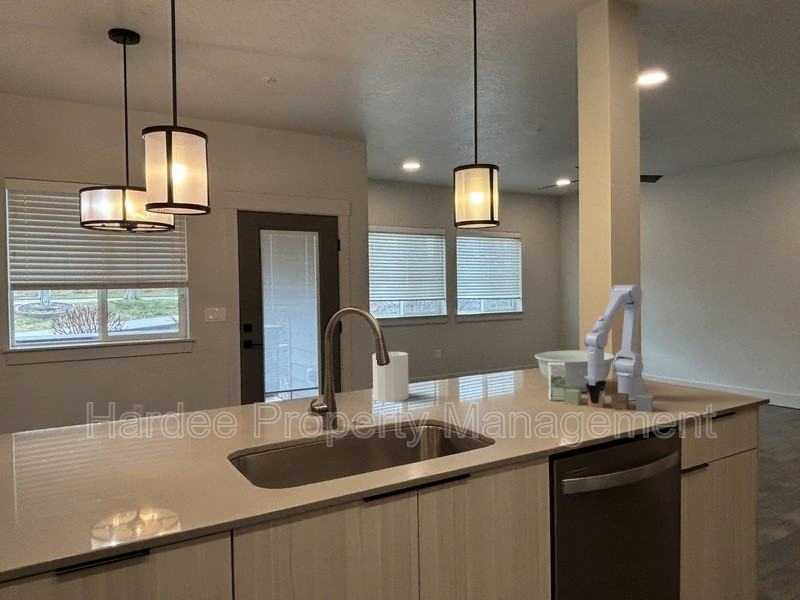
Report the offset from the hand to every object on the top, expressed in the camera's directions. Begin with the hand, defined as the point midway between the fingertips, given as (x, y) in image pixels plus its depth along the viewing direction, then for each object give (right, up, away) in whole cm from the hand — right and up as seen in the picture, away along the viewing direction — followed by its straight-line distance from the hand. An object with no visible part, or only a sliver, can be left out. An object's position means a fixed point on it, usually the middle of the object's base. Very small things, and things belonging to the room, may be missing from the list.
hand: (596, 401), depth 206 cm
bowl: (+2, -1, +32) cm, 32 cm away
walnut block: (+7, -2, -4) cm, 8 cm away
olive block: (-7, -2, +5) cm, 9 cm away
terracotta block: (0, -1, 0) cm, 1 cm away
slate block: (+14, -2, -8) cm, 16 cm away
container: (-76, -3, +22) cm, 79 cm away
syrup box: (-11, -2, +12) cm, 16 cm away
